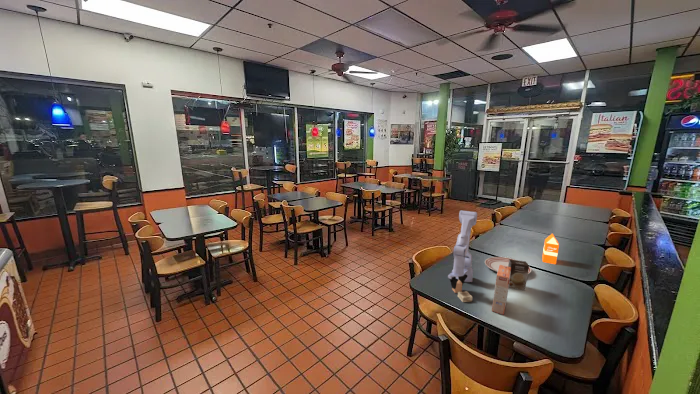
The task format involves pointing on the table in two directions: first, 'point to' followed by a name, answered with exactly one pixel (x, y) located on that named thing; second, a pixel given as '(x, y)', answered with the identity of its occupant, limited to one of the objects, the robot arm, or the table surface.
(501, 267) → the cracker box
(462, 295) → the beech base
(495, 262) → the dinner plate
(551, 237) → the orange juice
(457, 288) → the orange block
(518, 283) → the coffee box
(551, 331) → the table surface
